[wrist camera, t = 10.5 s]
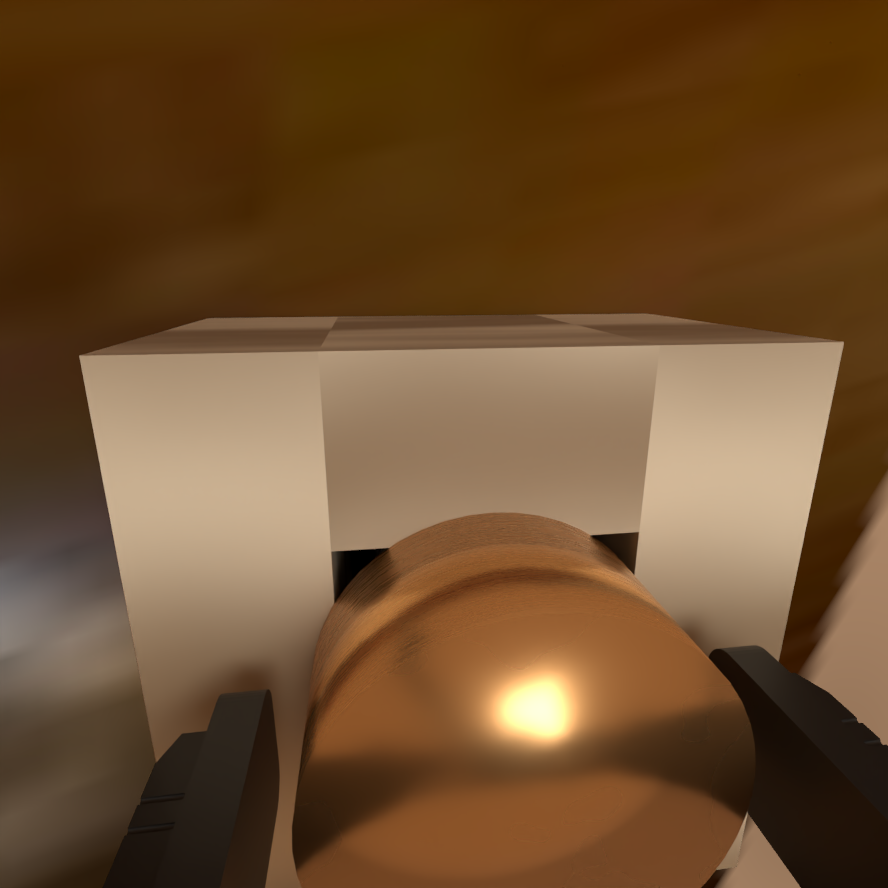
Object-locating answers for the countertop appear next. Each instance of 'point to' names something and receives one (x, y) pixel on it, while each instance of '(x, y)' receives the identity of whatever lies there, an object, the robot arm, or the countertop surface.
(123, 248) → the countertop surface
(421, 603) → the copper pin
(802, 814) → the robot arm
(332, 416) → the birch block
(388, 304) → the countertop surface
